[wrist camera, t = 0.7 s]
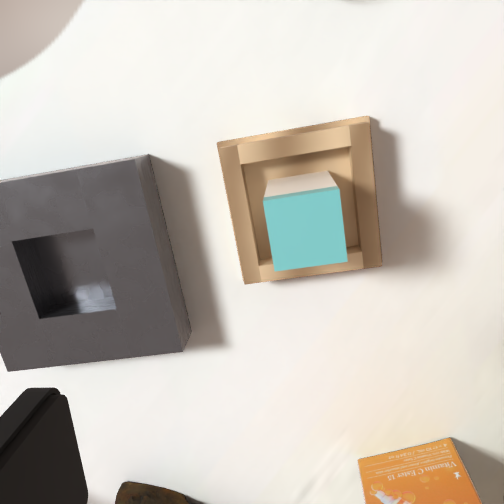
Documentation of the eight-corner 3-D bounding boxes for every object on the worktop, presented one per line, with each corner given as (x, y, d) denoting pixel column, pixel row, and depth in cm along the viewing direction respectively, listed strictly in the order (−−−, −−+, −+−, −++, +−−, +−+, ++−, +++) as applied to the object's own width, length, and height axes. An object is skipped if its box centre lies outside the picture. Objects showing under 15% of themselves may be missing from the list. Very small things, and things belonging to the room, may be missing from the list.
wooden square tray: (367, 115, 29) (373, 116, 26) (379, 258, 32) (386, 269, 29) (218, 141, 30) (213, 144, 28) (244, 276, 33) (241, 289, 31)
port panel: (148, 154, 30) (134, 158, 28) (191, 331, 35) (182, 351, 32) (-32, 185, 32) (-63, 193, 29) (29, 351, 36) (7, 371, 34)
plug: (327, 170, 29) (339, 189, 22) (334, 227, 30) (347, 261, 24) (268, 180, 30) (262, 201, 23) (277, 236, 31) (274, 271, 24)
